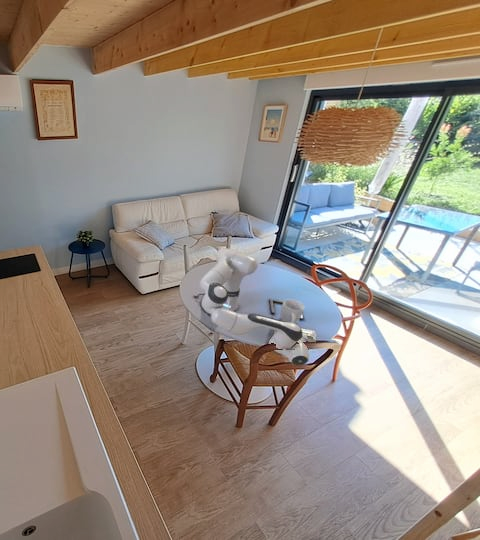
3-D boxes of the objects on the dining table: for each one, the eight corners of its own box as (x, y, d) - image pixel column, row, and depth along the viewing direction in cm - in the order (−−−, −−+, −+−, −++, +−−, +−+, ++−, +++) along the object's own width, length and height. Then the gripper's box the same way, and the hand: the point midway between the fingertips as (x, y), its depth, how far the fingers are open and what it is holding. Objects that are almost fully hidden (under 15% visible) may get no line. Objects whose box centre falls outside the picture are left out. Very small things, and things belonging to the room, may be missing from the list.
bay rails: (271, 313, 180) (271, 312, 180) (269, 300, 193) (270, 298, 192) (302, 319, 175) (303, 318, 174) (298, 305, 187) (299, 304, 187)
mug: (300, 333, 164) (307, 316, 158) (279, 329, 168) (285, 312, 161) (296, 318, 176) (302, 301, 170) (276, 314, 180) (282, 297, 173)
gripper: (273, 339, 157) (271, 323, 168) (315, 349, 150) (311, 332, 161) (275, 330, 154) (274, 315, 165) (319, 340, 147) (314, 323, 158)
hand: (292, 323), depth 163 cm, fingers closed, pressing on mug
